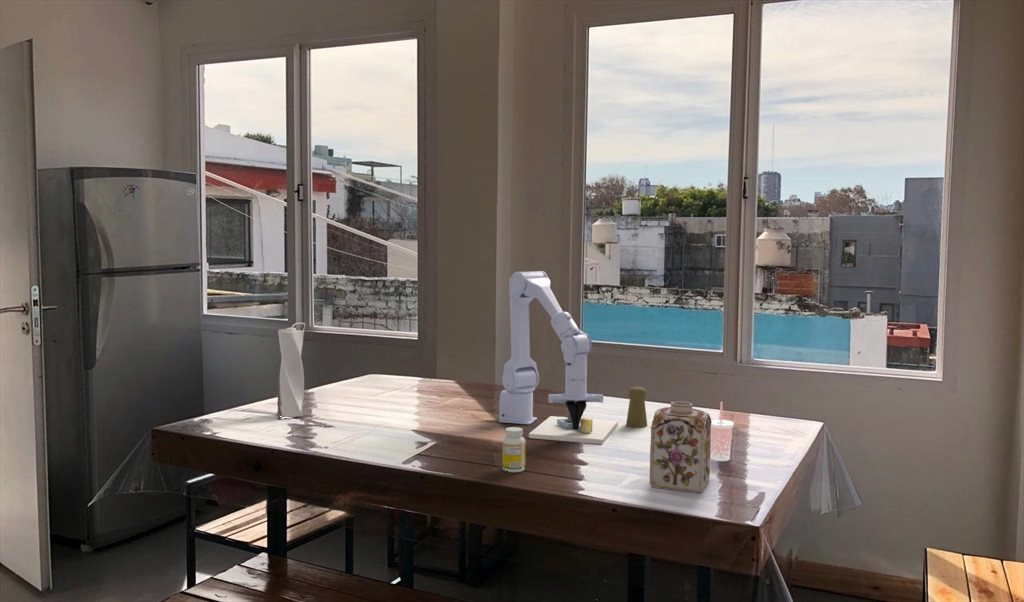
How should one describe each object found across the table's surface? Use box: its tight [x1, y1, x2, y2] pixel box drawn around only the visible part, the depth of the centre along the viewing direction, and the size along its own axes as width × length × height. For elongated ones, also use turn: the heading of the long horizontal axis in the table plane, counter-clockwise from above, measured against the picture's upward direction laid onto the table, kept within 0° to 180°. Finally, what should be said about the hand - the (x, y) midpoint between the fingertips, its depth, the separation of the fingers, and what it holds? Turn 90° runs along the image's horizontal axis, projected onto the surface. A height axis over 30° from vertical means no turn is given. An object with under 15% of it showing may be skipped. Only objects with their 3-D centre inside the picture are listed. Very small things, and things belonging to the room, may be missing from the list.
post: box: [566, 411, 572, 423], centre depth 229 cm, size 3×3×5 cm
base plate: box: [528, 415, 619, 445], centre depth 228 cm, size 20×22×1 cm
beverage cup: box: [710, 401, 735, 462], centre depth 201 cm, size 6×6×14 cm
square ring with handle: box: [557, 417, 592, 433], centre depth 227 cm, size 13×6×3 cm, turn 23°
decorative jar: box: [649, 400, 712, 494], centre depth 182 cm, size 12×12×18 cm
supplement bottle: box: [501, 426, 526, 473], centre depth 192 cm, size 5×5×10 cm
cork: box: [625, 386, 648, 429], centre depth 236 cm, size 6×6×11 cm
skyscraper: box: [276, 321, 306, 419], centre depth 244 cm, size 8×8×28 cm
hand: (575, 428), depth 222 cm, fingers closed
